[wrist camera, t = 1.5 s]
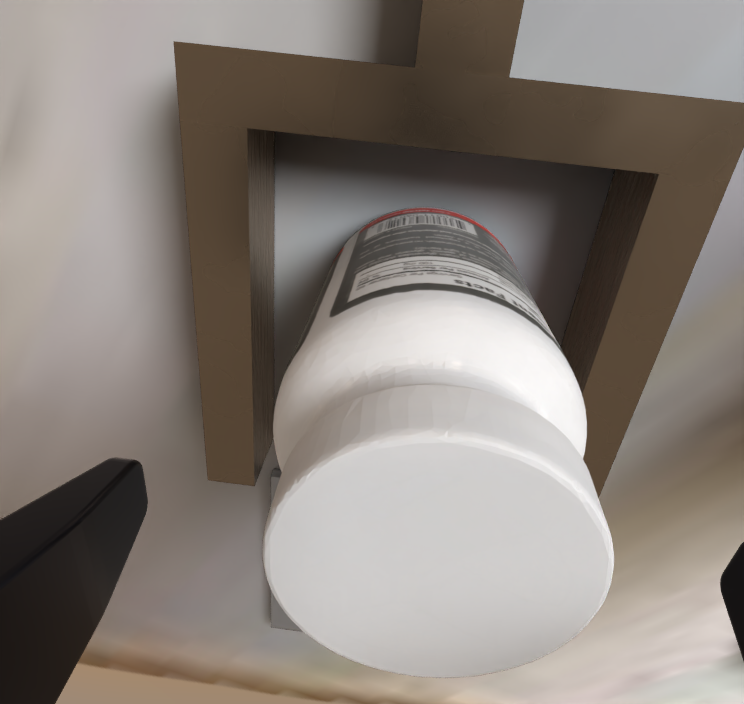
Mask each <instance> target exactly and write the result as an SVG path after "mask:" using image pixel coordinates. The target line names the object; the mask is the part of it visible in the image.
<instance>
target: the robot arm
mask: <svg viewBox="0 0 744 704" xmlns="http://www.w3.org/2000/svg"><path fill="white" fill-rule="evenodd" d="M147 504H148V500H147V493H146V486H145V480H144V474H143V468H142V465H141V464H140V462H138V461H136V460H131V459H123V458H111V459H108V460H106V461H104V462H102V463H101V464H99V465H97V466H95V467H93V468H92V469H90V470H88V471H86V472H85V473H83V474H81V475H79V476H77V477H76V478H74V479H72V480H70V481H69V482H67V483H65V484H63V485H61V486H60V487H58V488H56V489H54V490H52V491H51V492H49V493H47V494H45V495H44V496H42V497H40V498H38V499H36V500H35V501H33V502H31V503H29V504H28V505H26V506H24V507H22V508H20V509H19V510H17V511H15V512H13V513H12V514H10V515H8V516H6V517H4V518H3V519H1V520H0V704H55V703H56V701H57V699H58V697H59V696H60V694H61V692H62V690H63V688H64V686H65V685H66V683H67V681H68V679H69V677H70V675H71V674H72V672H73V670H74V668H75V666H76V664H77V663H78V661H79V659H80V657H81V655H82V653H83V651H84V650H85V648H86V646H87V644H88V642H89V640H90V639H91V637H92V635H93V633H94V631H95V629H96V627H97V626H98V624H99V622H100V620H101V618H102V616H103V614H104V612H105V610H106V607H107V605H108V603H109V601H110V598H111V596H112V594H113V591H114V589H115V587H116V584H117V582H118V579H119V577H120V575H121V572H122V570H123V567H124V565H125V563H126V560H127V558H128V556H129V553H130V551H131V548H132V546H133V544H134V541H135V539H136V536H137V534H138V532H139V529H140V527H141V524H142V522H143V520H144V517H145V515H146V511H147ZM720 586H721V593H722V596H723V599H724V602H725V605H726V608H727V611H728V615H729V618H730V621H731V624H732V627H733V630H734V633H735V636H736V639H737V642H738V645H739V648H740V651H741V654H742V658H743V661H744V542H743V543H742V544H741V545H740V547H739V548H738V550H737V551H736V553H735V555H734V556H733V558H732V559H731V561H730V562H729V564H728V566H727V567H726V569H725V570H724V572H723V574H722V576H721V582H720Z"/></svg>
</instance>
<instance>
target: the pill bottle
mask: <svg viewBox="0 0 744 704" xmlns="http://www.w3.org/2000/svg"><path fill="white" fill-rule="evenodd" d="M273 435H274V444H275V450H276V456H277V459H278V463H279V467H280V469H281V472H282V474H281V477H280V479H279V482H278V485H277V489H276V492H275V495H274V499H273V502H272V505H271V508H270V511H269V514H268V518H267V521H266V525H265V529H264V535H263V547H262V559H263V564H264V570H265V575H266V578H267V580H268V583H269V585H270V588H271V590H272V593H273V595H274V596H275V598H276V600H277V601H278V603H279V605H280V606H281V608H282V609H283V610H284V612H285V613H286V614H287V615H288V617H289V618H290V619H291V620H292V621H293V622H294V623H295V624H296V625H297V626H298V627H299V628H300V629H301V630H302V631H303V632H305V633H306V634H307V635H308V636H310V637H311V638H312V639H314V640H315V641H316V642H317V643H319V644H321V645H322V646H324V647H326V648H327V649H329V650H331V651H333V652H334V653H336V654H338V655H340V656H342V657H345V658H347V659H349V660H351V661H354V662H357V663H360V664H363V665H365V666H368V667H371V668H375V669H379V670H383V671H387V672H392V673H396V674H402V675H409V676H416V677H432V678H459V677H471V676H479V675H485V674H490V673H495V672H500V671H505V670H508V669H511V668H515V667H518V666H521V665H524V664H527V663H530V662H533V661H535V660H537V659H539V658H541V657H543V656H545V655H547V654H549V653H551V652H553V651H555V650H557V649H558V648H560V647H561V646H563V645H564V644H566V643H567V642H569V641H570V640H571V639H573V638H574V637H575V636H576V635H577V634H578V633H579V632H580V631H581V630H582V629H583V628H585V627H586V626H587V624H588V623H589V622H590V621H591V619H592V618H593V617H594V616H595V615H596V613H597V612H598V610H599V609H600V608H601V606H602V605H603V603H604V601H605V599H606V597H607V594H608V591H609V588H610V585H611V580H612V574H613V568H614V552H613V542H612V537H611V533H610V530H609V527H608V524H607V521H606V519H605V516H604V513H603V510H602V508H601V505H600V502H599V499H598V496H597V493H596V490H595V487H594V484H593V481H592V479H591V476H590V473H589V470H588V468H587V466H586V464H585V462H584V460H583V457H584V453H585V447H586V439H587V419H586V410H585V405H584V400H583V397H582V393H581V390H580V388H579V385H578V382H577V380H576V378H575V375H574V373H573V371H572V368H571V366H570V364H569V362H568V360H567V358H566V357H565V355H564V353H563V351H562V349H561V348H560V346H559V344H558V342H557V341H556V339H555V337H554V335H553V334H552V332H551V330H550V328H549V326H548V324H547V322H546V321H545V319H544V317H543V315H542V313H541V312H540V310H539V308H538V306H537V305H536V303H535V301H534V299H533V297H532V296H531V294H530V292H529V290H528V288H527V287H526V285H525V283H524V281H523V279H522V277H521V275H520V274H519V272H518V270H517V268H516V266H515V264H514V262H513V260H512V258H511V257H510V255H509V254H508V252H507V251H506V249H505V248H504V246H503V245H502V244H501V243H500V241H499V240H498V239H497V238H496V237H495V236H494V235H493V234H492V233H491V232H490V231H489V230H487V229H486V228H485V227H484V226H482V225H481V224H479V223H478V222H476V221H474V220H473V219H471V218H469V217H467V216H465V215H462V214H459V213H456V212H454V211H450V210H446V209H441V208H434V207H414V208H407V209H402V210H398V211H394V212H391V213H388V214H386V215H383V216H381V217H379V218H377V219H375V220H373V221H372V222H370V223H368V224H367V225H365V226H364V227H363V228H361V229H360V230H359V231H358V232H356V233H355V234H354V235H353V236H352V237H351V238H350V239H349V240H348V241H347V243H346V244H345V245H344V246H343V248H342V249H341V251H340V252H339V253H338V255H337V256H336V258H335V260H334V261H333V264H332V266H331V268H330V270H329V272H328V275H327V277H326V280H325V282H324V284H323V286H322V289H321V291H320V294H319V296H318V298H317V301H316V303H315V305H314V308H313V310H312V312H311V314H310V317H309V319H308V321H307V324H306V326H305V328H304V330H303V333H302V335H301V337H300V340H299V342H298V344H297V346H296V349H295V351H294V353H293V355H292V357H291V360H290V362H289V364H288V366H287V369H286V371H285V374H284V377H283V380H282V383H281V386H280V389H279V393H278V396H277V400H276V404H275V411H274V421H273Z"/></svg>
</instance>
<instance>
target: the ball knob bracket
mask: <svg viewBox="0 0 744 704" xmlns="http://www.w3.org/2000/svg"><path fill="white" fill-rule="evenodd" d="M523 3H524V0H423V3H422V12H421V20H420V29H419V37H418V46H417V54H416V63H415V67H406V66H397V65H388V64H378V63H369V62H360V61H351V60H341V59H332V58H323V57H313V56H304V55H295V54H286V53H276V52H267V51H258V50H248V49H239V48H230V47H220V46H211V45H202V44H193V43H183V42H174V53H175V66H176V79H177V91H178V104H179V117H180V130H181V143H182V156H183V168H184V181H185V194H186V207H187V220H188V232H189V245H190V258H191V271H192V284H193V297H194V309H195V322H196V335H197V348H198V361H199V374H200V386H201V399H202V412H203V425H204V438H205V450H206V463H207V476H208V480H210V481H218V482H226V483H234V484H242V485H250V486H255V483H256V481H257V478H258V476H259V473H260V471H261V468H262V466H263V463H264V461H265V458H266V455H267V453H268V450H269V448H270V445H271V443H272V440H273V438H274V435H273V421H274V184H275V131H277V132H286V133H295V134H304V135H313V136H322V137H331V138H340V139H349V140H358V141H367V142H376V143H385V144H394V145H403V146H412V147H421V148H430V149H439V150H448V151H457V152H466V153H475V154H484V155H493V156H502V157H511V158H520V159H529V160H538V161H547V162H556V163H565V164H574V165H583V166H592V167H601V168H610V169H615V172H614V176H613V179H612V182H611V185H610V189H609V192H608V195H607V198H606V202H605V205H604V208H603V211H602V215H601V218H600V221H599V224H598V228H597V231H596V234H595V237H594V241H593V244H592V247H591V250H590V254H589V257H588V260H587V263H586V267H585V270H584V273H583V276H582V280H581V283H580V286H579V289H578V293H577V296H576V299H575V302H574V306H573V309H572V312H571V315H570V319H569V322H568V325H567V328H566V332H565V335H564V338H563V341H562V345H561V349H562V351H563V353H564V355H565V357H566V358H567V360H568V362H569V364H570V366H571V368H572V371H573V373H574V375H575V378H576V380H577V382H578V385H579V388H580V390H581V393H582V397H583V400H584V405H585V410H586V419H587V439H586V447H585V453H584V457H583V460H584V462H585V464H586V466H587V468H588V470H589V473H590V476H591V479H592V481H593V484H594V487H595V490H596V493H597V496H598V498H599V495H600V493H601V490H602V488H603V486H604V483H605V481H606V478H607V476H608V474H609V471H610V469H611V466H612V464H613V461H614V459H615V457H616V454H617V452H618V449H619V447H620V445H621V442H622V440H623V437H624V435H625V432H626V430H627V428H628V425H629V423H630V420H631V418H632V416H633V413H634V411H635V408H636V406H637V403H638V401H639V399H640V396H641V394H642V391H643V389H644V387H645V384H646V382H647V379H648V377H649V375H650V372H651V370H652V367H653V365H654V362H655V360H656V358H657V355H658V353H659V350H660V348H661V346H662V343H663V341H664V338H665V336H666V333H667V331H668V329H669V326H670V324H671V321H672V319H673V317H674V314H675V312H676V309H677V307H678V304H679V302H680V300H681V297H682V295H683V292H684V290H685V288H686V285H687V283H688V280H689V278H690V276H691V273H692V271H693V268H694V266H695V263H696V261H697V259H698V256H699V254H700V251H701V249H702V247H703V244H704V242H705V239H706V237H707V234H708V232H709V230H710V227H711V225H712V222H713V220H714V218H715V215H716V213H717V210H718V208H719V205H720V203H721V201H722V198H723V196H724V193H725V191H726V189H727V186H728V184H729V181H730V179H731V176H732V174H733V172H734V169H735V167H736V164H737V162H738V160H739V157H740V155H741V152H742V150H743V148H744V103H741V102H732V101H722V100H713V99H704V98H694V97H685V96H676V95H667V94H657V93H648V92H639V91H629V90H620V89H611V88H602V87H592V86H583V85H574V84H564V83H555V82H546V81H536V80H527V79H518V78H509V75H510V70H511V64H512V59H513V54H514V49H515V44H516V39H517V34H518V29H519V24H520V19H521V14H522V8H523Z"/></svg>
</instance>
